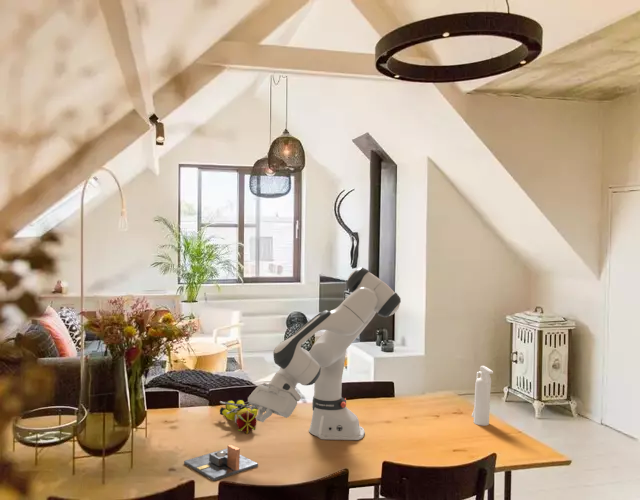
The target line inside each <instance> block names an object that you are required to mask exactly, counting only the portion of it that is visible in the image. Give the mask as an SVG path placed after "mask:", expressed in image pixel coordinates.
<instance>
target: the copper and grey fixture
mask: <svg viewBox="0 0 640 500" xmlns="http://www.w3.org/2000/svg"><path fill="white" fill-rule="evenodd" d="M226 449H227V451H226V456H222V457H218V456H217V452H216V451H213V452H214V453H213V452H210V454H209V453H208V454H209V461H210V462H212V463H214V464H216V465H218V466H221V465H224V464H225V465H227V466H228V467H230V468H232V469H234V470H235V471H236V470H239V461H240V455H241V453H240V452H241V451H240V450H241V448H239V447H237V446H234V444H233V445H232V444H229V445H227V448H226ZM221 450H222V451H225V450H223V449H221ZM221 450H219V451H221Z"/></svg>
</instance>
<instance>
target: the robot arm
mask: <svg viewBox="0 0 640 500" xmlns="http://www.w3.org/2000/svg"><path fill="white" fill-rule="evenodd" d="M346 288H347V290H348V293H349V295H348V296H347V297H345V299H344V300H343V301H342V302H341V303H340V304H339V305H338V306H337V307H336V308H334V309H331V310H327V309H325V310H323V311H320V312H319V313H318V314H317V315H315V316H313V317H312V318H311V319H310V320H309V321H307V322H306V323H305V324H304V325H302V326H301V327H300V328H299V329H298V330H296V331H295V332H294V333H292V335H290V336H289V337H287V338H285V339H284V340H283V341H281V342H280V343H279V344H278V345H276V347H275V348H274V350H273V354H272V355H273V361H274V364H275V365H277V366H278V367H280V368H279V370H278V371H277V372H275V373H274V375H273V376H272V378H271V380H270V381H269V383H266V382H263V383H260V384H259V385H258V386H256V387H255V389H254V390H253V391H252V392H251V394H249V396H247V403H250V404H251V405H250V406H254V407H257V408H259V409H258V411H257V416H256V417H255V418H256V421H258V422H261V423H265V421H266V419H268V418H269V417H271V416H272V415H273V414H274V415H277V416H280V417H283V418H286V419H287V418H289V417H291V415H292V414H293V413H294V411H295V410H296V408H297V405H298V402H299V401H300V400H301V399H302V396H301V395H300V393H299V392H298V391H297V390H296V387H297V385H298V384H299V385H302V386H311V385H314V386H313V387H314V388H313V390H314V391H313V397H312V406H311V407H312V415H311V416H312V417H311V422H310V427H309V429H308V431H309V433H310V434H312V435H314V436H315V437H318V438H319V439H320V440H332V441H333V440H335V441H341V440H342V441H343V440H344V441H360V440H362V439H363V438H364V436H365V433H366V432H365V429H364V427H362V426H361V425H360V421H359V418H358V416H357V415H356V414H355V413H354V412H352V410H351V409H349V408H348V407H347V398H346V397H345V398H344V397H342V385H343V373H344V368H345V363H346V362H345V361H346V353H347V350H348V348H349V347H350V345H352V343H354V342H355V340H356V339H357V338H358V337H359V336H360V334H361V333H362V332H363V331H364V330H365V329H366V327H367V326H368V325H369V324H370V322H371V321H372V320H373V318H374V317H375V315H376V314H377V316H379V317H382V318H389V317H390V316H392V315H394V314H395V313H396V312H397V311H398V310H399V307H400V304H401V299H402V298H401V297H400V296H399V294H398V293H397V292H395V291H394V290H393V289H392V287H390V286H389V285H388V284H387V283H386V282H385V281H383V280H382V279H380V278H379V277H378V276H376V275H374V274H373V273H371V272H370V270H369V269H366V268H364V267H357V269H355V270H353V271H352V272H350V274H349V276H348V278H347V281H346ZM319 331H320V332H321V331H324V332H323V333H322V334H321V335H320V336H319V338H318V339H316V341H315V342H314V343H313V344H312V346H311V349H310V350H309V351H308V350H307V349H305V348H303V347H302V345H303V344H304V343H305V342H307V341H308V340H309V339H311V337H312V336H314V335H315V334H316V333H318V332H319Z"/></svg>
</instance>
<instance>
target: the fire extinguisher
mask: <svg viewBox="0 0 640 500" xmlns="http://www.w3.org/2000/svg"><path fill="white" fill-rule="evenodd" d="M479 374H480V377H479ZM490 374H491V375H492V374H494V370H492V369H490V368H489V367H487V366H486V365H480V367H479V371H477V372H476V375H475V376H476V377H475V384H474V385H475V386H474V404H473V405H474V406H473V411H472V413H471V418H473V423H474V424H475V425H478V426H485V427H486V426H489V424H490V409H491V406H490V405H491V404H490V403H491V384H492V378H491V375H490Z"/></svg>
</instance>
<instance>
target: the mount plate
mask: <svg viewBox="0 0 640 500" xmlns="http://www.w3.org/2000/svg"><path fill="white" fill-rule="evenodd" d="M222 450H225V451H222ZM226 451H227V448H224V449H221V451H220V450H217V451H213V452H212V453H214V452H217V456H218V457H222V456H226ZM210 453H211V452H210ZM210 453H207V454H204V455H199V456H196V457H194V458H189V459H186V460H184V461H183V464H184V465H186V466H188V467H189V468H191V469H192V470H195V471H196V472H198V473H199V474H201V475H203V477H206V478H207V479H209V480H211V481H213V482H214V481H218V480H221V479H223V478H227V477H230V476H233V475H236V474H239V473H242V472H243V473H244V472H245V471H248V470H251V469H254V468H258V467H259V464H258V462H256V461H253V460H251V459H250V458H248V457H246V456H244V455H243V454H240V461H239V470H236V471H235V470H234V469H232V468H230V467H228V466H227V465H225V464H224V465H221V466H218V465H216V464H214V463H212V462H210V461H209V454H210Z"/></svg>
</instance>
